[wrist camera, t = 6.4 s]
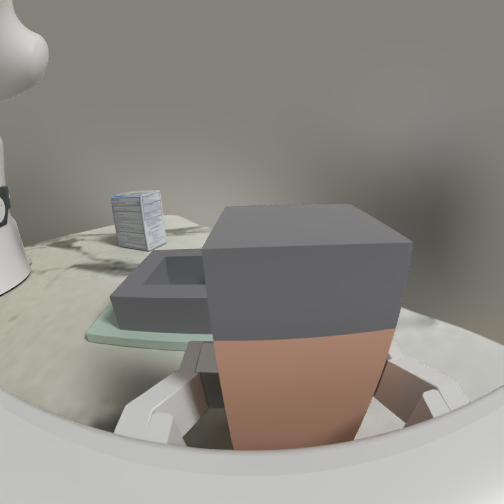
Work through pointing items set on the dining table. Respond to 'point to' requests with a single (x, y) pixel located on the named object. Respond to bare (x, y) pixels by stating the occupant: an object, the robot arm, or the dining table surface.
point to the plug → (301, 318)
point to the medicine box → (139, 219)
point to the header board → (158, 304)
